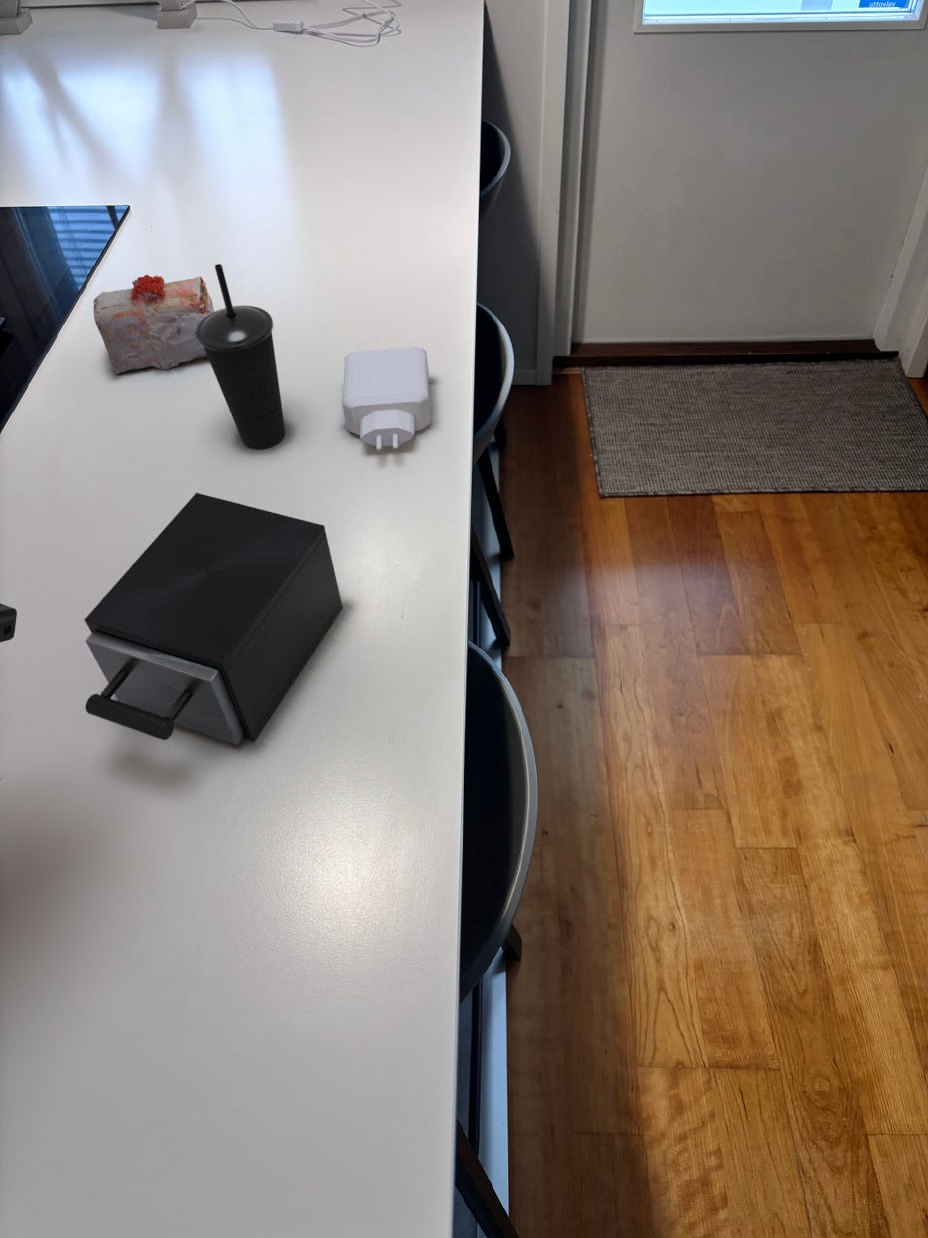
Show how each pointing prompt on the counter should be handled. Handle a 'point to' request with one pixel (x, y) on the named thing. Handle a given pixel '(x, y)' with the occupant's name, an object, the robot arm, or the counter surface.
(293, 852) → the counter surface
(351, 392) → the charger
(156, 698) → the drawer
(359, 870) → the counter surface
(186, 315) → the food item
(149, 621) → the cabinet
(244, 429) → the drinking cup
